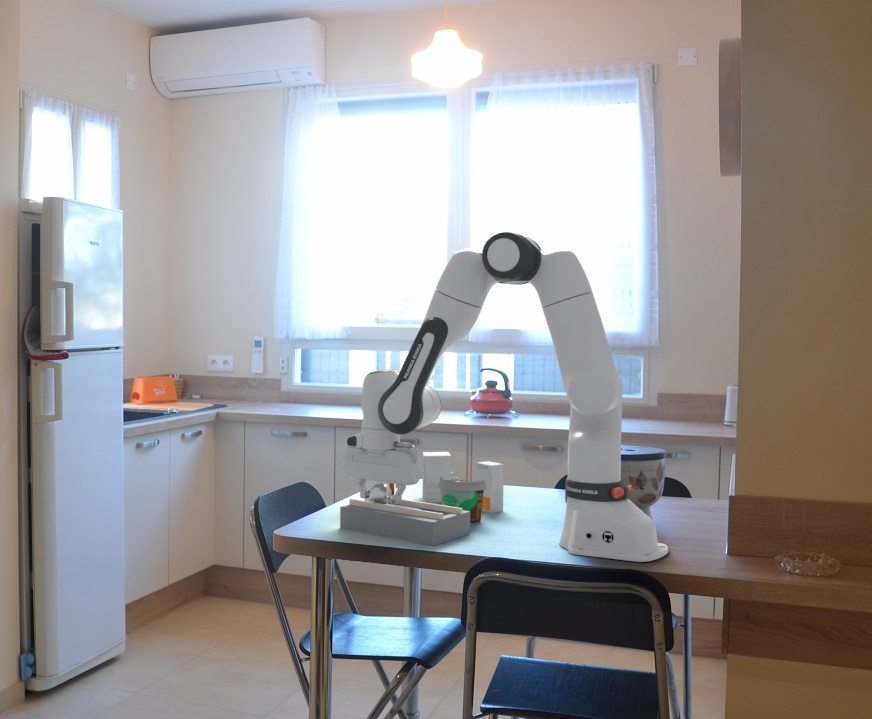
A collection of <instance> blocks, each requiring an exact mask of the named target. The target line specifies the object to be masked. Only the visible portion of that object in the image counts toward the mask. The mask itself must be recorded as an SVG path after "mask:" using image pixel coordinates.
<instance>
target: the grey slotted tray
mask: <svg viewBox="0 0 872 719" xmlns="http://www.w3.org/2000/svg"><path fill="white" fill-rule="evenodd" d="M339 514H340V517H339V518H340V519H339V524H340V525H339V527H340V529H345V530H350V531H355V532H359V533H365V534H369V535H376V536H380V537H386V538H389V539H394V538H395V540H400V541H404V540H406V541H405V542H409V541H410V543H414V542H415V544H419V543H420V545H426V546H429V547H430V546H432V547H434V546H438V545H440V544H444V543H446V542H450V541H452V540H455V538H456V539H458V537H459V538H461V537H460V536H462V537H464V536H463V535H465V536H467V535H466V534H468V535H470V534H471V524H470V511H465V510H462V508H458V507H451V506H445V505H441V504H438V503H432V502H424V501H417V500H411V499H406V498H405V499H404V498H402V502H401V503H392V498H391V499H390V501H389V502H388V503H387V504H379V503H373V502H372V501H371V499H370V500H367V501H364V500H360V499H354V498H353V499H352V498H351V499H349V502H348V504H347V505H342V506H339Z"/></svg>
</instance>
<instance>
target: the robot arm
mask: <svg viewBox="0 0 872 719" xmlns="http://www.w3.org/2000/svg"><path fill="white" fill-rule="evenodd" d="M441 273H442V274H441V275H440V278H439V280H438V281H437V282H438V283H437V285H436V287H435V290H434V292H433V295H432V298H431V301H430V302H429V305H428V308H427V311H426V313H425V316H424V319H423V321H422V323H421V325H420V328H419V330H418V333H417V334H416V336H415V338H414V340H413V342H412V345H411V347H410V349H409V351H408V353H407V355H406V358H405V360H404V362H403V365H402V366H401V369H400V371H398V370H397V369H394V368H387V369H386V368H385V369H380V370H375V371H374V370H373V371H371V372H369V373H367V374H366V375H365V377H364V379H363V383H362V391H361V412H362V415H363V416H362V417H363V419H362V423H361V432H358V433H355V434H352V435H349V436H346V437H344V439H343V443H344V446H345V447H346V448H345V449H344V450H343V455H342V471H343V474H344V476H345V477H346V478H352V479H353V478H354V479H355V483H356V485H357V488H358V490H359V497H360V499H364V498H369V497H370V494H369V493H370V490H367V488H366V485H365V482H366V480H374V481H381V482H388V483H394V488H395V489H396V491H395V492H394V495H392V503H401V502H402V499H403V498H402V497H403V494H404V492H405V490H406V489H407V486H412V485H417V484H418V483H419V481H420V477H421V474H420V466H419V464H420V463H419V458H418V455H419V453H418V452H419V451H418V448H416V446H414V445H413V443H411V442H402V441H401V435H406V434H409V433H411V432H413V431H416V430H418V429H420V428H423V427H425V426H428V425H430V424H432V423H434V422H435V421H436V420H437V419H438V418H439V416H440V414H441V411H442V400H441V397H440V395H439V393H438V392H437V390H435V389H434V387H431V386H430V385H429V386H428V382H429V381H430V379H431V376H432V374H433V372H434V370H435V367H436V365H437V363H438V361H439V359H440V357H441V356H442V355H443V353H444V352H445V351H446V350H447V349H448V348H449V347H451V346H452V345H453V344H455V343H456V342H458V341H459V340H462V339H463V338H464V337H466V336H467V335H469V333H470V332H471V331H472V329H473V327H474V326H475V324H476V322H477V320H478V318H479V316H480V314H481V311H482V310H483V306H484V303H485V302H486V301H485V300H486V299H487V296H488V293H489V291H490V290H491V289H492V287H494V286H495V285H496V284H507V285H508V284H509V285H515V286H516V285H519V286H520V285H525V284H530V285H532V286H533V288H534V289H535V291H536V293H537V295H538V298H539V302H540V305H541V309H542V311H543V314H544V317H545V320H546V325H547V327H548V331H549V333H550V337H551V340H552V343H553V346H554V350H555V351H554V352H555V356H556V359H557V360H556V361H557V364H558V367H559V371H560V376H561V380H562V383H563V386H564V390H565V394H566V396H567V399H568V402H569V405H570V412H569V425H568V426H569V427H568V439H567V477H566V478H565V487H564V488H565V489H564V490H565V491H564V492H565V494H564V497H565V498H564V499H565V500H564V501H565V503H566V504H565V505H566V506H565V516H564V522H563V527H562V531H561V535H560V539H559V541H558V545H559V546H560V547H562V548H564V549H565V550H567V552H568V553H569V554H570V555H576V556H577V555H578V556H587V557H595V558H603V559H613V560H618V561H619V560H621V561H626V562H627V561H629V562H635V563H637V562H639V563H643V562H645V563H646V562H652V561H654V560H655V561H656V560H658V559H660V558H661V559H662V557H664V556H666V555H667V554H668V553H669V546H668V545H667V544H666V543H660V542H658V535H657V534H658V533H657V528H656V525H655V522H654V520H653V519H652V518H651V517H650V516H648V515H647V514H646V513H645V512H644V511H643V510H641V508H639V507H638V506H637V505H636V504H634V502H633V501H631V500H630V498H629V495H630V494H629V491H632V486H633V485H632V484H629V485H627V484H626V483H625V482H624V481H623V479H622V478H621V476H622V475H621V471H622V469H621V467H622V427H623V426H622V423H623V422H622V419H623V418H622V417H623V388H624V387H623V381H622V377H621V375H620V373H619V371H618V370H617V369H616V366H615V362H614V359H613V355H612V352H611V349H610V345H609V342H608V337H607V334H606V332H605V330H606V329H605V327H604V324H603V322H602V318H601V314H600V312H599V309H598V306H597V302H596V299H595V296H594V293H593V290H592V286H591V283H590V281H589V278H588V276H587V274H586V272H585V270H584V267H583V265H582V263H581V262H580V260H579V259H578V257H577V254H575V253H574V252H572V251H571V250H569V249H562V248H561V249H558V248H557V249H554V250H553V249H552V250H550V251H543V250H542V248H541V247H540V245H539V244H538V243H537V242H536V241H535V240H533V239H532V238H531V237H529V235H527V234H524V233H522V232H520V231H519V232H518V231H516V230H515V231H514V230H510V229H509V230H508V229H507V230H501V231H497V232H496V233H494V234H492V235H491V236H490V237H489V238H488V239H487V240H486V242H485V243H484V245H483V247H482V251H480V250H476V249H473V248H463V249H459V250H457V251H456V252H454V254H452V256H451V258H450V260H449V261H448V262H447V264H446V266H445V267H444V270H443V272H441Z"/></svg>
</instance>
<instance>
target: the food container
mask: <svg viewBox="0 0 872 719" xmlns="http://www.w3.org/2000/svg"><path fill="white" fill-rule="evenodd" d="M437 487H438V488H440V493H441V502H440V503H441V504H440V505H445V506H451V507H458V508H462V510H465V511H470V523H472V524H477V523H476V522H478V523H480V521H481V520H482V512H483V511H482V503H483V493H484V490H485V489H486V483H485V480H483V481H477V482H476V481H468V480H463V479H461V480H459V479H457V481H449V480H443V477H442V476H441V477H440V479H439V480H438V485H437Z"/></svg>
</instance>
